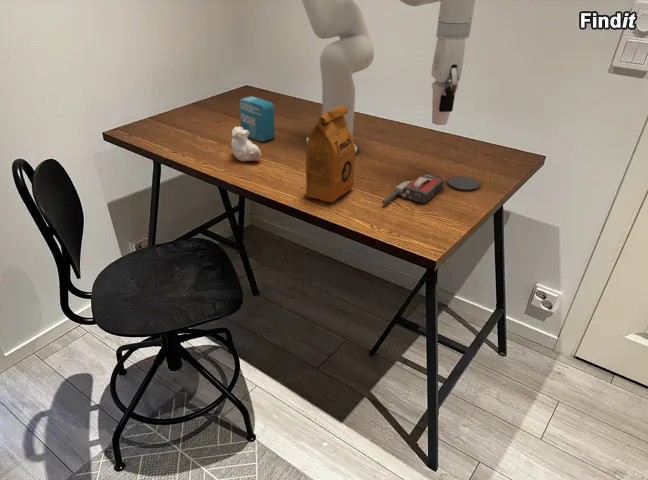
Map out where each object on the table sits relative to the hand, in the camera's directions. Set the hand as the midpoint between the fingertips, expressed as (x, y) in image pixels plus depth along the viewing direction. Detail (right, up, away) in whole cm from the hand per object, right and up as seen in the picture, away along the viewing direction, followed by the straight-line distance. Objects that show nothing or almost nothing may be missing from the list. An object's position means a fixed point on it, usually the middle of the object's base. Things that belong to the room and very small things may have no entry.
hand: (442, 106), depth 131 cm
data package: (-49, +3, +40) cm, 63 cm away
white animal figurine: (-52, -8, +25) cm, 58 cm away
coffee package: (-28, -22, +5) cm, 36 cm away
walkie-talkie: (-7, -23, +3) cm, 24 cm away
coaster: (+8, -19, +8) cm, 22 cm away
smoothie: (0, -4, +2) cm, 4 cm away
